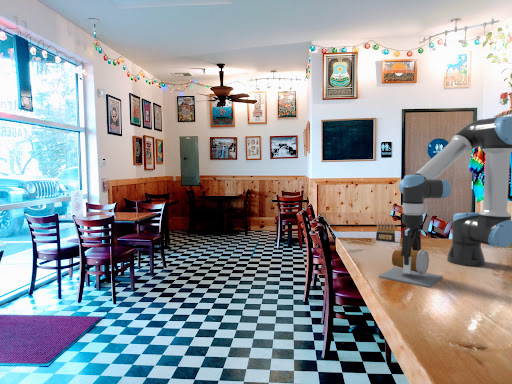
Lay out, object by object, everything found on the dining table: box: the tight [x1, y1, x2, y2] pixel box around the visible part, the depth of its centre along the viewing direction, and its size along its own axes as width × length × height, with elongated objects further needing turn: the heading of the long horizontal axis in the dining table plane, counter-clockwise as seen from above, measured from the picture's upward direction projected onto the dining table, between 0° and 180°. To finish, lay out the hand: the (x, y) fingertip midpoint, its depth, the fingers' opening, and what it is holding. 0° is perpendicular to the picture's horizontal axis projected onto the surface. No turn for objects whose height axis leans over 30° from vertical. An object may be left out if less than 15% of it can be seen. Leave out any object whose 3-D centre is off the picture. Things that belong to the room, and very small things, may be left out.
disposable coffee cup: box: [391, 249, 430, 274], centre depth 148 cm, size 10×10×12 cm
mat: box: [378, 266, 443, 288], centre depth 148 cm, size 17×19×1 cm
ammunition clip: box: [375, 220, 396, 243], centre depth 220 cm, size 11×2×12 cm, turn 62°
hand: (410, 270), depth 148 cm, fingers open, 8 cm apart
